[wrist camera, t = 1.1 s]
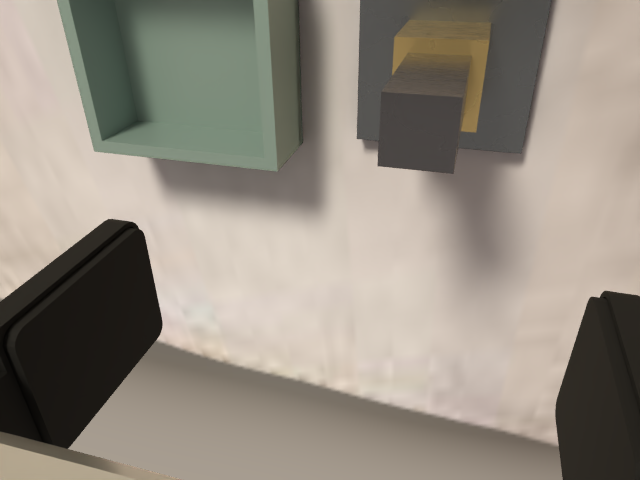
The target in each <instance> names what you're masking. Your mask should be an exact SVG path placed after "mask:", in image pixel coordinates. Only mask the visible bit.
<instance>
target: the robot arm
mask: <svg viewBox="0 0 640 480" xmlns="http://www.w3.org/2000/svg"><path fill="white" fill-rule="evenodd" d="M161 330H162V317H161V312H160V307H159V303H158V298H157V293H156V288H155V283H154V279H153V274H152V269H151V264H150V259H149V255H148V250H147V245H146V240H145V236H144V233H143V232H142V230H140V229H139V228H138V226H137V225H136V224H135V223H133V222H129V221H122V220H115V219H108V220H106V221H104V222H103V223H102V224H101V225H99V226H98V227H97V228H95V229H94V230H93V231H91V232H90V233H89V234H88V235H86V236H85V237H84V238H82V239H81V240H80V241H79V242H77V243H76V244H75V245H73V246H72V247H71V248H69V249H68V250H67V251H66V252H64V253H63V254H62V255H60V256H59V257H58V258H56V259H55V260H54V261H53V262H51V263H50V264H49V265H47V266H46V267H45V268H44V269H42V270H41V271H40V272H38V273H37V274H36V275H34V276H33V277H32V278H31V279H29V280H28V281H27V282H25V283H24V284H23V285H22V286H20V287H19V288H18V289H16V290H15V291H14V292H12V293H11V294H10V295H9V296H7V297H6V298H5V299H3V300H2V301H1V302H0V480H181V479H178V478H174V477H170V476H167V475H163V474H159V473H155V472H152V471H148V470H145V469H141V468H137V467H133V466H129V465H126V464H122V463H118V462H114V461H111V460H107V459H103V458H100V457H95V456H92V455H88V454H84V453H80V452H77V451H73V450H69V449H68V448H69V447H70V446H71V444H72V443H73V442H74V441H75V440H76V438H77V437H78V436H79V435H80V434H81V432H82V431H83V430H84V429H85V427H86V426H87V425H88V424H89V422H90V421H91V420H92V418H93V417H94V416H95V414H97V412H98V411H99V410H100V409H101V408H102V406H103V405H104V404H105V403H106V401H107V400H108V399H109V398H110V396H111V395H112V394H113V393H114V391H115V390H116V389H117V388H118V387H119V385H120V384H121V383H122V382H123V380H124V379H125V378H126V377H127V375H128V374H129V373H130V372H131V370H132V369H133V368H134V367H135V365H136V364H137V363H138V362H139V360H140V359H141V358H142V357H143V356H144V354H145V353H146V352H147V351H148V349H149V348H150V347H151V346H152V344H153V343H154V342H155V341H156V340H157V338H158V337H159V335H160V333H161ZM555 415H556V425H557V434H558V442H559V451H560V458H561V467H562V476H563V480H640V296H638V295H631V294H624V293H617V292H610V291H604V292H603V293H602V294H601V296H600V298H597V297H590V299H589V301H588V303H587V306H586V309H585V313H584V316H583V319H582V322H581V325H580V328H579V331H578V335H577V338H576V341H575V344H574V347H573V350H572V353H571V356H570V360H569V363H568V366H567V369H566V372H565V375H564V378H563V382H562V385H561V388H560V391H559V394H558V397H557V402H556V412H555Z"/></svg>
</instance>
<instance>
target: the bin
mask: <svg viewBox="0 0 640 480" xmlns="http://www.w3.org/2000/svg"><path fill="white" fill-rule="evenodd" d="M57 3H58V7H59V11H60V15H61V19H62V23H63V27H64V31H65V35H66V39H67V43H68V47H69V51H70V55H71V59H72V63H73V67H74V71H75V75H76V79H77V83H78V87H79V91H80V96H81V100H82V104H83V108H84V112H85V116H86V120H87V124H88V128H89V132H90V136H91V140H92V144H93V148H94V151H95V152H104V153H113V154H122V155H131V156H140V157H150V158H159V159H168V160H177V161H186V162H195V163H204V164H214V165H223V166H232V167H241V168H250V169H259V170H269V171H278V170H279V169H280V168H281V167H282V166H283V165H284V164H285V162H286V161H287V160H288V159H289V158H290V157H291V156H292V154H293V153H294V152H295V151H296V150H297V149H298V148H299V146H300V145H301V144H302V143H303V135H302V102H301V70H300V38H299V5H298V0H57Z"/></svg>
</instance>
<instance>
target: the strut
mask: <svg viewBox="0 0 640 480" xmlns="http://www.w3.org/2000/svg"><path fill="white" fill-rule="evenodd" d="M490 30H491V23H484V22H453V21H422V20H409V21H408V22H407V23H406V24H405V25H404V26H403V28H402V29H401V30H400V31H399V32H398V33H397V34H396V36H395V37H394V52H393V70H392V77H391V78H390V80H389V81H388V83H387V84H386V86H385V87H384V89H383V90H382V92H381V107H380V128H379V149H378V166H382V167H392V168H402V169H412V170H422V171H431V172H441V173H451V174H453V173H454V168H455V162H456V157H457V151H458V146H459V140H460V135H461V131H463V132H476V130H477V123H478V116H479V109H480V103H481V96H482V89H483V82H484V75H485V68H486V62H487V55H488V48H489V41H490Z"/></svg>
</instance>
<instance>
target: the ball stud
mask: <svg viewBox="0 0 640 480" xmlns="http://www.w3.org/2000/svg"><path fill="white" fill-rule="evenodd" d="M550 5H551V0H360V36H359V76H358V117H357V139H364V140H375V141H379V128H380V107H381V92H382V90H383V89H384V87H385V86H386V84H387V83H388V81H389V80H390V78H391V77H392V70H393V52H394V37H395V36H396V34H397V33H398V32H399V31H400V30H401V29H402V28H403V26H404V25H405V24H406V23H407V22H408V21H409V20H422V21H453V22H484V23H491V30H490V41H489V48H488V55H487V62H486V68H485V75H484V82H483V89H482V96H481V103H480V109H479V116H478V123H477V130H476V132H463V131H461V135H460V140H459V146H458V148H464V149H475V150H486V151H498V152H509V153H520V154H521V153H522V147H523V142H524V137H525V132H526V127H527V122H528V117H529V112H530V107H531V102H532V97H533V91H534V86H535V81H536V76H537V71H538V66H539V61H540V56H541V51H542V46H543V41H544V35H545V30H546V25H547V20H548V15H549V10H550Z"/></svg>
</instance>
